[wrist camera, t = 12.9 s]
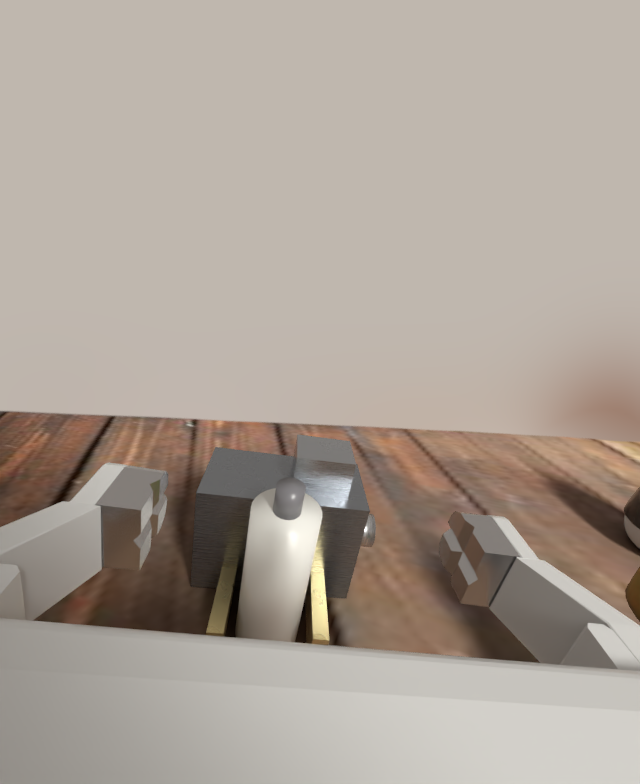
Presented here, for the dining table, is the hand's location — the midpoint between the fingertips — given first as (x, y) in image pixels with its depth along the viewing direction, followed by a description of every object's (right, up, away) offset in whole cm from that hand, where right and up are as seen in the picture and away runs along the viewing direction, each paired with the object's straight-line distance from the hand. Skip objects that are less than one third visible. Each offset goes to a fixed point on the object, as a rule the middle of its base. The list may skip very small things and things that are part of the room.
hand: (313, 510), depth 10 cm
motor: (-3, -15, +23) cm, 27 cm away
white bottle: (-4, -16, +19) cm, 25 cm away
